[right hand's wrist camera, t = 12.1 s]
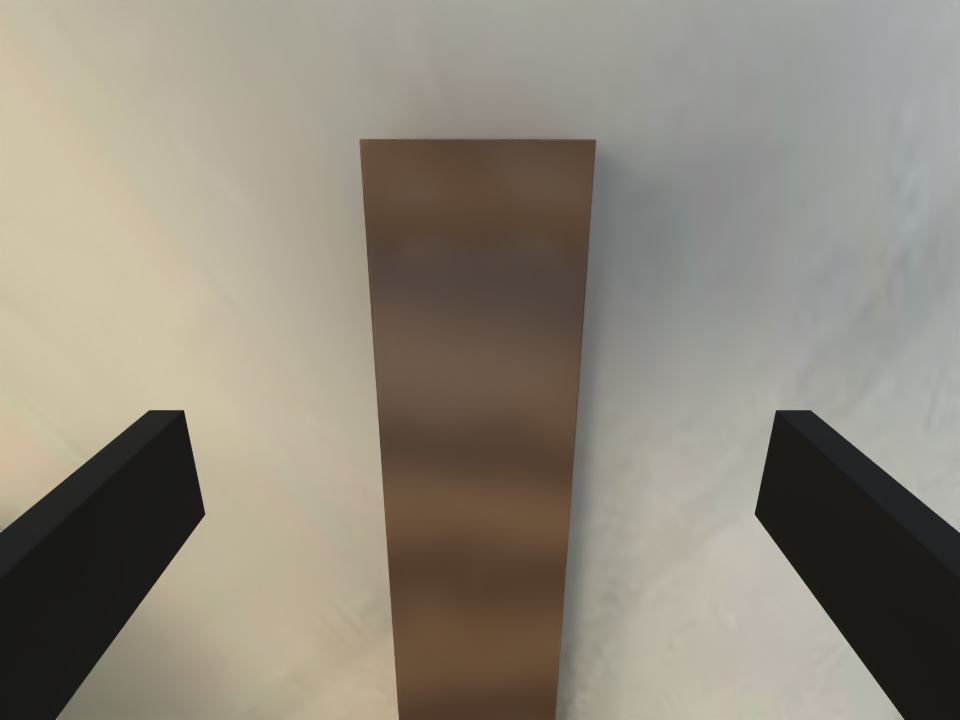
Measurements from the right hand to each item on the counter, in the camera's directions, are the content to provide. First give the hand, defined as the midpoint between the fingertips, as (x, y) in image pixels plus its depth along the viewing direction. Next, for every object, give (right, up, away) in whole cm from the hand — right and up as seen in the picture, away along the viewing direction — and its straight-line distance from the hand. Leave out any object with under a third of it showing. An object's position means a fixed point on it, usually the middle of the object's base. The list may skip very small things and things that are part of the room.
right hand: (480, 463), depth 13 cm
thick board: (0, -17, +30) cm, 34 cm away
